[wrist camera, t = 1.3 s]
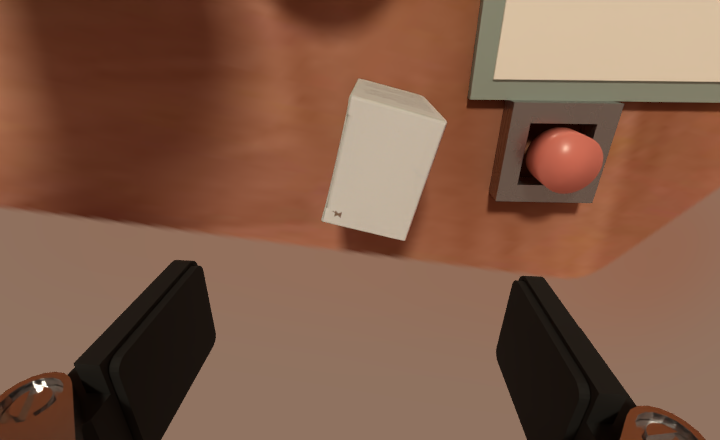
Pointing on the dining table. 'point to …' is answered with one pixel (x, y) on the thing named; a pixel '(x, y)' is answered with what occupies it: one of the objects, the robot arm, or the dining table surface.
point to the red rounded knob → (564, 159)
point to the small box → (383, 160)
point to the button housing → (513, 136)
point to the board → (597, 51)
